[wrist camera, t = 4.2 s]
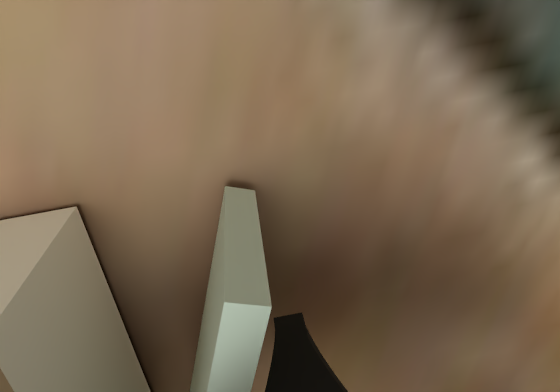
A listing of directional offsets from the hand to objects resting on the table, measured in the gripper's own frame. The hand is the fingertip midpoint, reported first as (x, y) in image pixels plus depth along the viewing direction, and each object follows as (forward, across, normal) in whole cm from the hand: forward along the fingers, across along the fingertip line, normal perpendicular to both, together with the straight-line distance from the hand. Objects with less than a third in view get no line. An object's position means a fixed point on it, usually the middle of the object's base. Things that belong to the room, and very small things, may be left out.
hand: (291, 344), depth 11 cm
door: (+2, +3, +1) cm, 4 cm away
